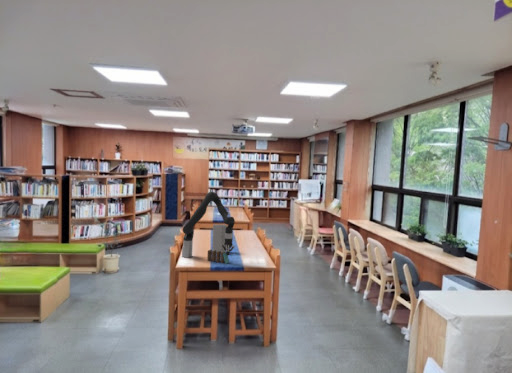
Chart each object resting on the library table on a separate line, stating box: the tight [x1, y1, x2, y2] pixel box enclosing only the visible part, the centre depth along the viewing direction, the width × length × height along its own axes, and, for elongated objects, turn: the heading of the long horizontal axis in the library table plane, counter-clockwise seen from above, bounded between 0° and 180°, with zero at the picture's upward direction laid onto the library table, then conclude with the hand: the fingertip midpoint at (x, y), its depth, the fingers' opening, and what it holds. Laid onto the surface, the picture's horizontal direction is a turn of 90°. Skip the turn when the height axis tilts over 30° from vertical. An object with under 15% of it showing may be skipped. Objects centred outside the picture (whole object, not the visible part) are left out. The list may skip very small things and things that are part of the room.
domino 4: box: [220, 252, 225, 264], centre depth 303 cm, size 2×5×10 cm, turn 158°
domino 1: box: [206, 249, 212, 262], centre depth 308 cm, size 2×5×10 cm, turn 158°
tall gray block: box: [211, 224, 228, 254], centre depth 338 cm, size 14×6×30 cm, turn 103°
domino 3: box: [215, 251, 221, 263], centre depth 304 cm, size 2×5×10 cm, turn 158°
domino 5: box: [223, 252, 230, 265], centre depth 301 cm, size 2×5×10 cm, turn 158°
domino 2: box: [211, 250, 217, 263], centre depth 306 cm, size 2×5×10 cm, turn 158°
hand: (227, 255), depth 300 cm, fingers closed
